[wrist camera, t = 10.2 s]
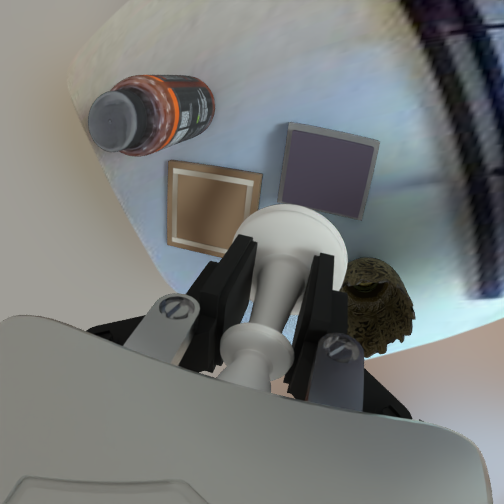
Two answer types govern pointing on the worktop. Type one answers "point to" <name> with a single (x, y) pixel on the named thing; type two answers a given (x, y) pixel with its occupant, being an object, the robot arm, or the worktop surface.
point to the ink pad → (327, 170)
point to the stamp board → (208, 205)
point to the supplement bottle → (150, 113)
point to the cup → (376, 305)
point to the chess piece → (277, 290)
